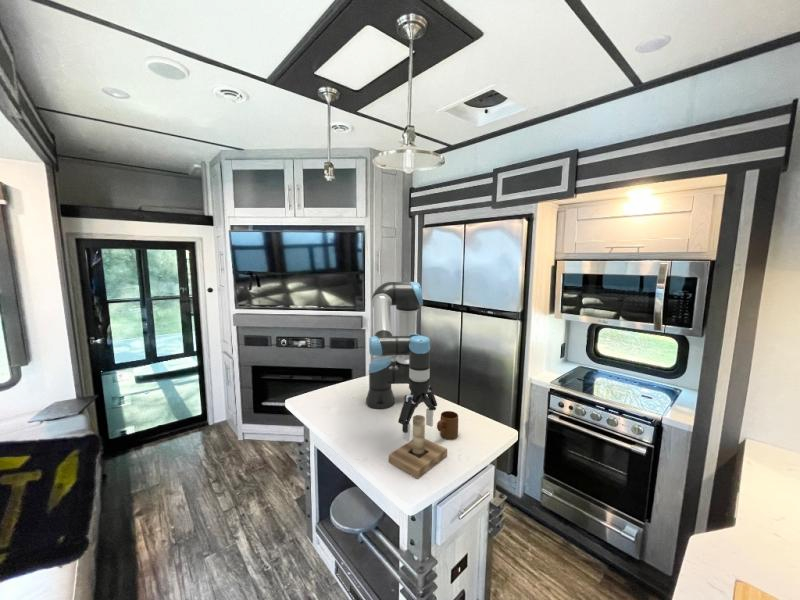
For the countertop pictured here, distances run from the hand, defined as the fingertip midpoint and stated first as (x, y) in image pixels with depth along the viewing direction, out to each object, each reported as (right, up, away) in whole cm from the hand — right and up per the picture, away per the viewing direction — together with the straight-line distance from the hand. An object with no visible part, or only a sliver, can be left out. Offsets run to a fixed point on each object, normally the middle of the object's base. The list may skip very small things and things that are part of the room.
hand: (418, 432), depth 124 cm
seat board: (0, -11, +1) cm, 11 cm away
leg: (0, -10, +1) cm, 10 cm away
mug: (+13, -9, +16) cm, 23 cm away
